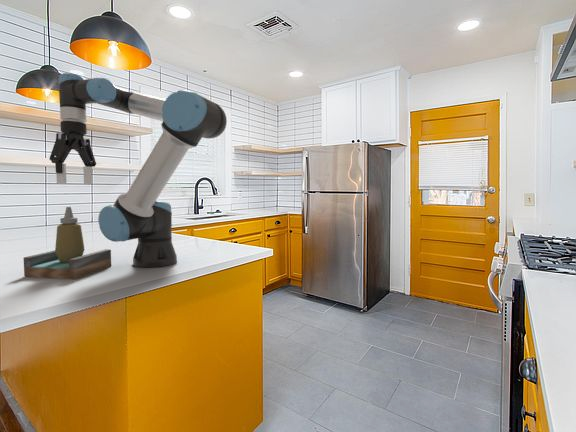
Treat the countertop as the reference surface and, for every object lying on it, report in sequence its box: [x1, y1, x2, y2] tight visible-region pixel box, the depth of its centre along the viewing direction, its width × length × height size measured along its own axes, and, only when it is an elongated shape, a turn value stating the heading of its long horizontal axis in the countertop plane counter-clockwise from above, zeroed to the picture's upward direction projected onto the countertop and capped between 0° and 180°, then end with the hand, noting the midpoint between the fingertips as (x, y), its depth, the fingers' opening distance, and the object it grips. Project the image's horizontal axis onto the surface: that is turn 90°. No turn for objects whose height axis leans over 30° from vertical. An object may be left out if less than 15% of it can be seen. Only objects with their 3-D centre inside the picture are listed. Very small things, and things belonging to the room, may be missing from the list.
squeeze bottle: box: [54, 206, 85, 263], centre depth 108 cm, size 8×8×18 cm
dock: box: [23, 248, 112, 280], centre depth 108 cm, size 17×17×6 cm
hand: (75, 184), depth 114 cm, fingers open, 13 cm apart
